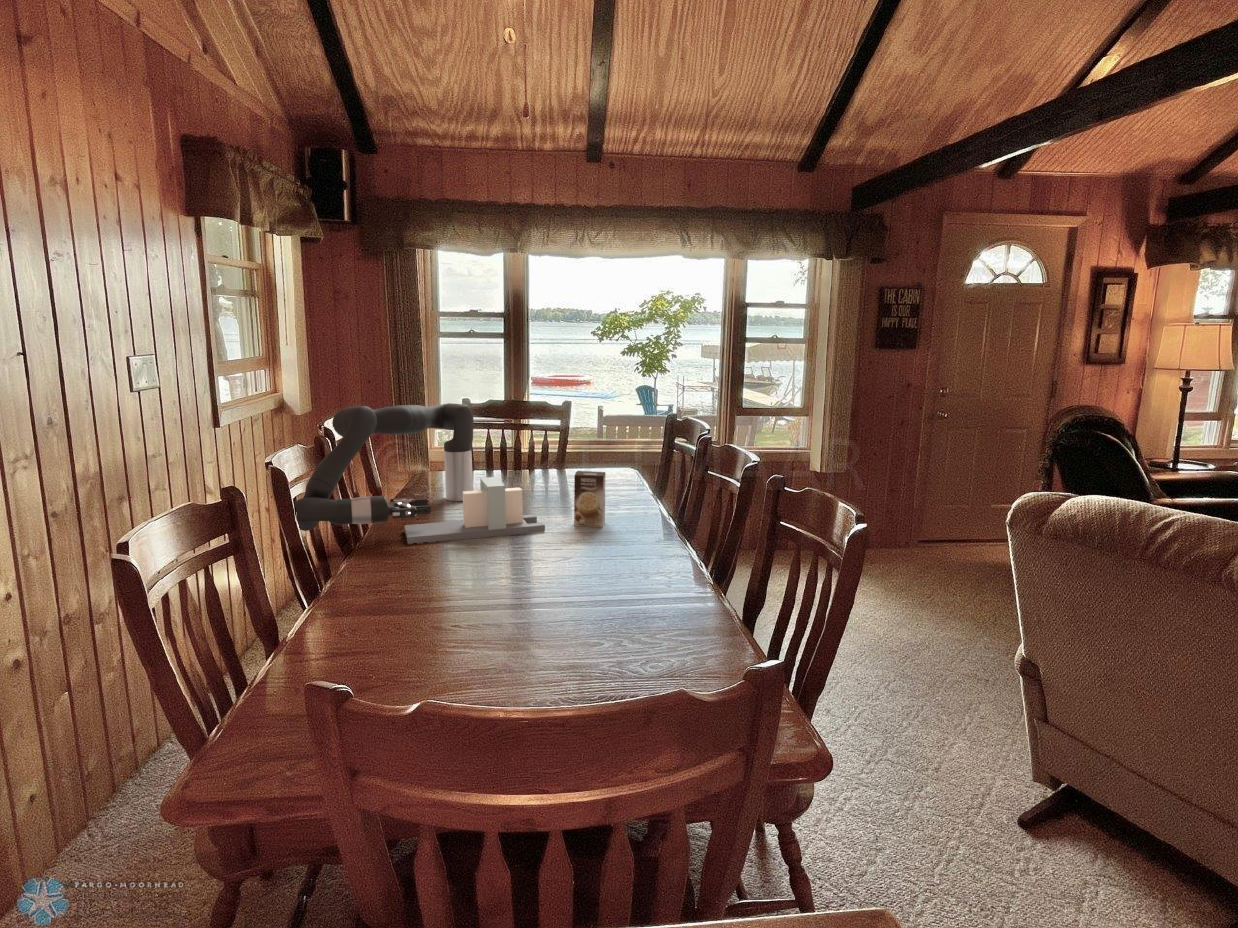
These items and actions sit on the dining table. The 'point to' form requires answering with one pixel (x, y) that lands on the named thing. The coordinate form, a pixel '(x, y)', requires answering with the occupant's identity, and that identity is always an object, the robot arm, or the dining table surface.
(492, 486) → the tunnel
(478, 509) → the block
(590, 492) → the coffee box
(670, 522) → the dining table surface
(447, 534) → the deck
